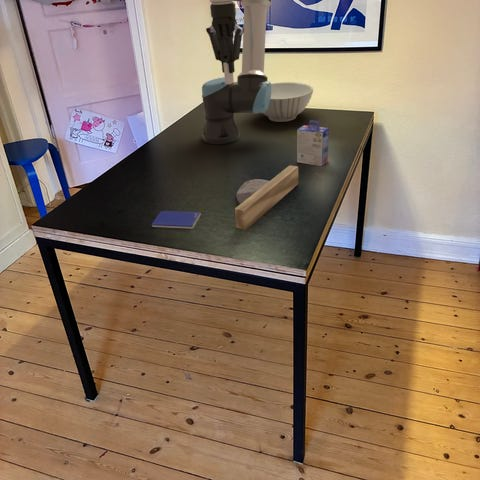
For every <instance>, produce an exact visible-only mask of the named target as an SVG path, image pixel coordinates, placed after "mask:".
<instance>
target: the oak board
mask: <svg viewBox="0 0 480 480" xmlns="http://www.w3.org/2000/svg"><path fill="white" fill-rule="evenodd" d="M268 181H269V182H268V183H267V184H265V185H264V186H263V187H262V188H260V189H259V190H258V191H257V192H255V193H254V194H253V195H252V196H250V197H249V198H248V199H246V200H245V201H244V202H243V203H239V205H238V206H236V207H235V208H234V215H235V223H236V224H235V225H236V226H235V227H236V228H237V229H240V230H243V231H246V230H247V229H248V228H251V226H252V225H253V224H254V223H256V221H258V220H259V219H260V218H261V217H262V216H264V214H266V213H267V212H268V211H269V210H271V209H272V208H273V207H274V206H275V205H276V204H277V203H278V202H279V201H280V200H283V198H284V197H285V196H286V195H288V193H290V192H291V191H292V190H293V189H295V187H296V186H298V185H299V166H296V165H291V164H290V165H288V166H287V167H286V168H284V169H283V170H281V172H279V173H278V174H277V175H275V176H274V177H273V178H272V179H271V180H268Z"/></svg>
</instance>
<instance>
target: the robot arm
mask: <svg viewBox="0 0 480 480" xmlns="http://www.w3.org/2000/svg"><path fill="white" fill-rule="evenodd" d="M209 2H210V3H211V4H210V7H209V9H210V17H211V19H212V21H211V25H210V26H208V27H206V29H205V32H206V33H207V34H208V36H209V40H210V42H211V43H210V44H211V47H212V50H213V54H214V58H215V60H216V61H220V62H221V70H222V73H223V74H224V77H218V78H214V79H210V80H208V81H205V82H204V83H203V84H202V86H201V94H202V95H201V97H202V104H203V110H204V111H203V113H204V127H203V132H202V140H203V142H205V143H206V144H210V145H225V144H230V143H233V142H236V141H237V140H239V139H240V137H241V136H240V133H241V131H240V129H239V128H238V124H237V122H236V121H235V116H234V115H235V114H254V115H255V114H263V113H264V112H265V111H266V110H267V109H268V107H269V104H270V99H271V88H272V87H271V83H272V82H271V81H269V80H268V76H267V75H266V74H265V53H266V52H265V51H266V34H267V33H266V32H267V31H266V29H267V10H268V9H269V8H270V7H271V6H272V5H271V4H272V0H209ZM235 2H240V6H241V7H242V8H243V25H242V27H241V26H240V25H239V24H238V22H237V19H236V15H237V10H236V3H235ZM241 46H242V47H241ZM241 48H242V53H241ZM240 54H242V55H241V56H242V57H241V72H240V74H239V75H237V76H236V77H237V81H235V80H234V73H235V71H236V70H235V61H238V60H240Z"/></svg>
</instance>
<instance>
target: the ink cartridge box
mask: <svg viewBox="0 0 480 480" xmlns="http://www.w3.org/2000/svg"><path fill="white" fill-rule="evenodd" d="M320 122H321V121H320V120H313V119H309V123H308V125H302V126H301V127H299V128H297V130H296V142H297V143H296V147H297V148H296V152H297V153H296V162H297V163H301V164H305V165H312V166H318V167H323V166H324V165H325V164H327V163H328V162H329V137H330V136H329V135H330V134H329V131H330V129H329V127H321V126H320ZM314 123H315V124H314Z"/></svg>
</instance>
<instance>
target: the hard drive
mask: <svg viewBox="0 0 480 480" xmlns="http://www.w3.org/2000/svg"><path fill="white" fill-rule="evenodd" d="M201 215H202V213H201V212H200V211H175V210H174V211H173V210H172V211H170V210H169V211H168V210H161V211H160V212H159V213H158V215H157V216H155V217H156V218H155V219H154V220H153V221H152V223H151V228H152V227H153V228H167V229H168V228H169V229H170V228H171V229H172V228H173V229H190V230H191V229H194V227H195V226H196V224H197V222H198V221H199V219H200V218H201Z"/></svg>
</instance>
